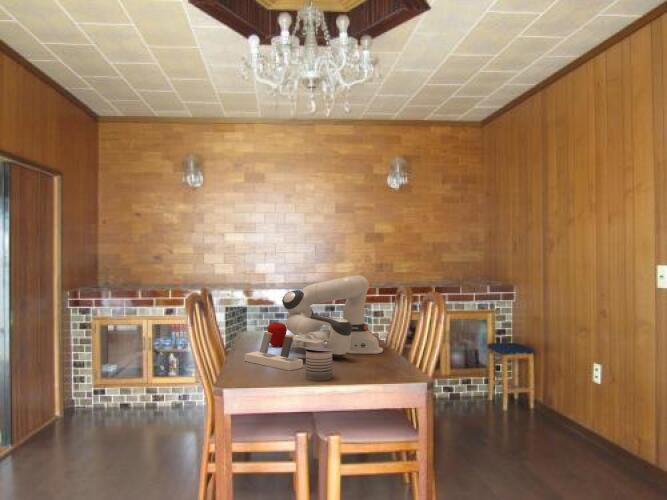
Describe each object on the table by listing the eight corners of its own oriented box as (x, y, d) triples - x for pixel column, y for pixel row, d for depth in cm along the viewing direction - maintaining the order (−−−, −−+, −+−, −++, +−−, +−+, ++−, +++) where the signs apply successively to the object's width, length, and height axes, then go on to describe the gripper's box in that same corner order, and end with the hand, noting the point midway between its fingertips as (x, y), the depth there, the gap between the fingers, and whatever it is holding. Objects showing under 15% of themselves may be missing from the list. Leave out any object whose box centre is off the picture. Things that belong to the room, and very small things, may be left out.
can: (301, 375, 221) (301, 346, 221) (326, 372, 225) (326, 344, 225) (311, 381, 210) (311, 351, 210) (337, 378, 215) (337, 349, 215)
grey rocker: (261, 352, 248) (267, 332, 250) (267, 353, 245) (272, 333, 248) (259, 352, 247) (264, 331, 249) (264, 353, 244) (269, 332, 247)
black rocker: (282, 356, 239) (287, 335, 241) (288, 357, 236) (293, 336, 239) (280, 356, 237) (285, 334, 240) (285, 357, 235) (291, 335, 238)
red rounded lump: (263, 346, 287) (263, 321, 287) (277, 343, 295) (277, 319, 295) (276, 348, 280) (276, 323, 280) (290, 346, 288) (290, 321, 288)
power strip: (257, 358, 254) (257, 350, 254) (302, 367, 235) (302, 359, 235) (244, 361, 248) (244, 353, 248) (290, 370, 228) (290, 361, 228)
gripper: (329, 350, 246) (309, 355, 235) (298, 345, 259) (278, 349, 249) (329, 337, 246) (309, 341, 235) (298, 332, 259) (278, 336, 249)
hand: (293, 345), depth 242 cm, fingers closed
